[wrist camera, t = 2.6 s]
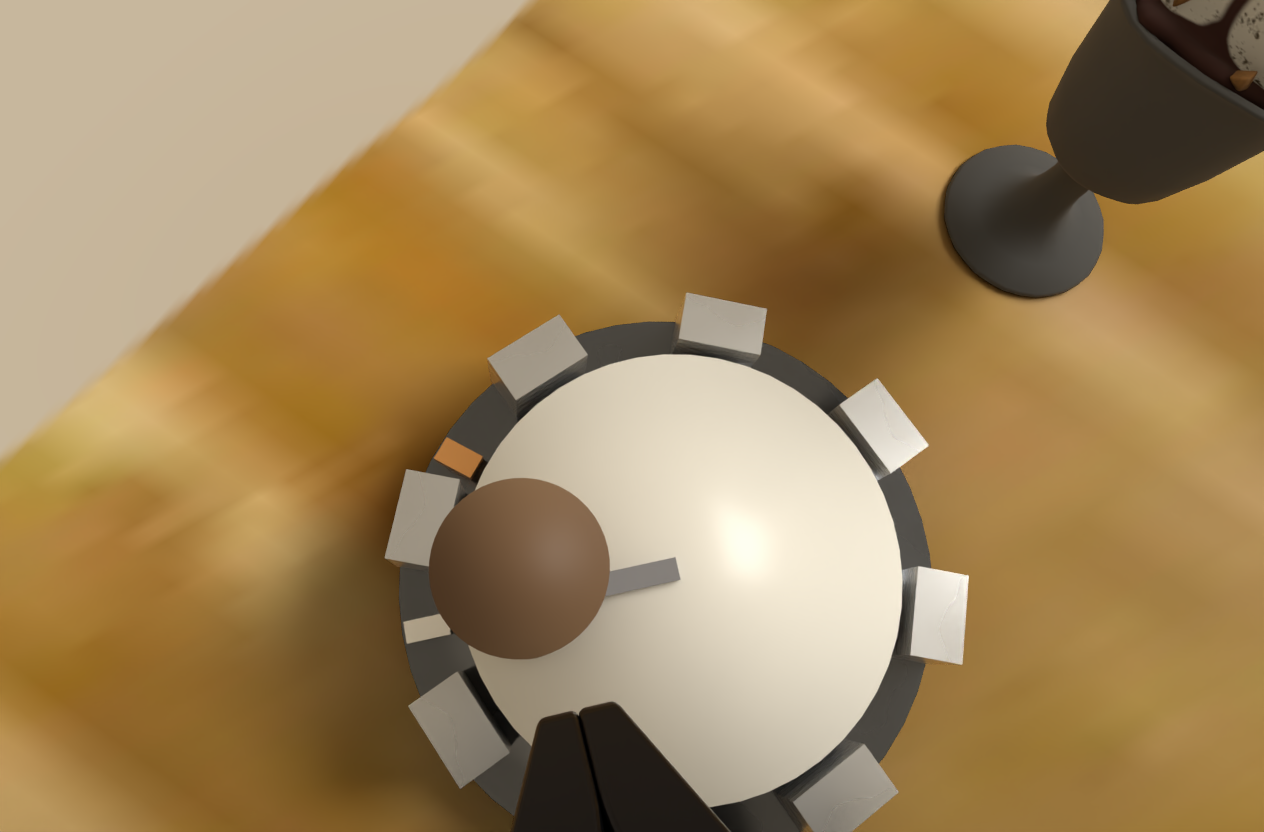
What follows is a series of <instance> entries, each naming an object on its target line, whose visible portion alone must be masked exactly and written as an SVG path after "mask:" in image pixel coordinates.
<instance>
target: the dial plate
mask: <svg viewBox="0 0 1264 832" xmlns="http://www.w3.org/2000/svg"><path fill="white" fill-rule="evenodd" d="M766 313H767V309H765V308H760V307H756V306H751V305H746V304H741V303H736V302H731V301H726V300H721V299H716V298H711V297H706V296H701V295H696V294H692V293H686V295H685V297H684V300H683V302H682V305H681V307H680V309H679V312H678V314H677V317H676V319H675V322H641V323H632V324H623V325H615V326H611V327H607V328H603V329H599V330H595V331H591V332H586V333H583V334H580V335H578V336H574V335H573V333H572V332H571V330H570V329H569V328H568V326H567V325H566V323H565V322H564V320H563V319H562V318H561V316H560V315H557V316H556V317H554V318H553V319H551V320H549V321H548V322H546V323H544V324H543V325H541V326H539V327H538V328H536V329H535V330H533V331H531V332H530V333H528V334H526V335H525V336H523V337H522V338H520V339H518V340H517V341H515V342H513V343H512V344H510V345H508V346H507V347H505V348H504V349H502V350H500V351H499V352H497V353H495V354H494V355H492V356H491V357H489V358H487V360H488V366H489V373H490V379H491V382H492V385H491V386H490V387H489V388H488V389H487V390H486V391H485V392H483V393H482V394H481V395H480V396H479V397H478V398H477V399H476V400H475V401H474V402H473V403H472V404H471V405H470V406H469V407H468V409H467V410H466V411H465V412H464V414H463V415H462V416H461V417H460V418H459V420H458V421H457V422H456V423H455V424H454V426H453V427H452V428H451V429H450V431H449V432H448V434H447V436H446V437H445V439H444V440H443V442H442V443H441V445H440V447H439V448H438V450H437V451H436V453H435V455H434V456H433V458H432V460H431V462H430V464H429V466H428V468H427V470H426V473H424V472H419V471H413V470H408V469H406V473H405V477H404V481H403V485H402V489H401V493H400V497H399V501H398V505H397V509H396V513H395V517H394V522H393V526H392V530H391V534H390V538H389V542H388V546H387V550H386V554H385V559H386V560H388V561H389V562H391V563H392V564H394V565H395V566H397V567H400V583H399V603H400V614H401V625H402V635H403V639H404V643H405V648H406V652H407V657H408V661H409V665H410V670H411V673H412V675H413V678H414V681H415V683H416V686H417V689H418V691H419V694H420V698H419V699H417V700H416V701H414V702H413V703H411V704H410V705H409V706H408V707H409V708H410V710H411V712H412V713H413V715H414V716H415V718H416V720H417V721H418V723H419V724H420V726H421V728H422V729H423V731H424V732H425V734H426V736H427V737H428V739H429V740H430V742H431V744H432V745H433V747H434V748H435V750H436V751H437V753H438V755H439V756H440V758H441V759H442V761H443V763H444V764H445V766H446V767H447V769H448V771H449V772H450V774H451V775H452V777H453V779H454V780H455V782H456V783H457V785H458V787H459V788H460V789H461V788H462V787H464V786H465V785H466V784H468V783H469V782H471V781H472V780H474V781H475V782H476V783H477V784H478V785H479V786H480V787H481V788H482V789H483V790H484V791H485V792H486V793H487V794H488V795H489V796H490V797H491V798H492V799H493V800H494V801H495V802H497V803H498V804H499V805H500V806H502V807H503V808H504V809H506V810H507V811H508V812H509V813H511V814H512V815H513V816H514V815H515V811H516V807H517V803H518V799H519V795H520V791H521V787H522V783H523V779H524V775H525V771H526V767H527V763H528V759H529V755H530V751H531V747H532V746H531V745H530V744H529V743H528V742H527V741H526V740H525V739H524V738H523V737H522V736H521V735H520V734H519V733H518V732H517V731H516V730H515V729H514V728H513V726H512V725H511V724H510V722H509V721H508V720H507V718H506V717H505V716H504V714H503V713H502V712H501V710H500V709H499V708H498V706H497V705H496V704H495V702H494V700H493V698H492V696H491V695H490V693H489V691H488V689H487V687H486V686H485V684H484V682H483V680H482V678H481V677H480V674H479V672H478V669H477V667H476V664H475V662H474V659H473V656H472V654H471V651H470V649H469V646H468V644H467V643H465V642H464V641H463V640H461V639H460V638H459V637H458V636H457V635H456V634H455V633H454V632H453V631H452V630H451V629H450V628H449V627H448V625H447V624H446V623H445V621H444V620H443V618H442V617H441V615H440V613H439V611H438V609H437V607H436V605H435V602H434V599H433V597H432V592H431V588H430V582H429V559H430V553H431V548H432V545H433V542H434V538H435V536H436V534H437V532H438V529H439V527H440V526H441V524H442V522H443V521H444V519H445V517H446V516H447V515H448V514H449V512H450V511H451V510H452V509H453V508H454V507H455V506H456V505H457V504H458V503H459V502H460V501H461V500H462V499H463V498H465V497H466V496H467V495H469V494H470V493H472V492H473V491H475V489H476V486H477V484H478V482H479V480H480V477H481V475H482V473H483V471H484V469H485V467H486V466H487V464H488V462H489V461H490V459H491V458H492V456H493V454H494V453H495V451H496V449H497V448H498V446H499V445H500V444H501V442H502V441H503V440H504V439H505V437H506V436H507V435H508V434H509V432H510V431H511V430H512V429H513V427H514V426H515V425H516V424H517V423H518V422H519V421H520V420H521V419H522V418H523V417H524V416H525V415H526V414H527V413H528V412H529V411H530V410H531V409H532V408H533V407H535V406H536V405H537V404H538V403H539V402H541V401H542V400H543V399H545V398H546V397H547V396H549V395H550V394H552V393H553V392H554V391H556V390H557V389H558V388H560V387H562V386H563V385H565V384H567V383H569V382H571V381H573V380H574V379H576V378H578V377H580V376H582V375H584V374H586V373H589V372H591V371H594V370H596V369H599V368H601V367H604V366H607V365H609V364H613V363H617V362H621V361H625V360H629V359H633V358H638V357H646V356H655V355H663V354H666V355H696V356H704V357H711V358H718V359H722V360H726V361H730V362H733V363H737V364H741V365H745V366H747V367H750V368H752V369H755V370H757V371H760V372H762V373H764V374H767V375H769V376H771V377H773V378H775V379H777V380H779V381H780V382H782V383H784V384H786V385H788V386H790V387H791V388H793V389H795V390H796V391H798V392H799V393H800V394H802V395H803V396H804V397H806V398H807V399H809V400H810V401H811V402H813V403H814V404H816V405H817V406H818V407H819V408H820V409H821V410H822V411H823V412H824V413H826V414H827V415H828V416H829V417H830V418H831V419H832V420H833V421H834V422H835V423H836V424H837V425H838V426H839V427H840V428H841V429H842V430H843V432H844V433H845V434H846V435H847V436H848V438H849V439H850V440H851V441H852V442H853V443H854V445H855V446H856V447H857V449H858V450H859V452H860V453H861V455H862V456H863V458H864V459H865V461H866V462H867V464H868V465H869V467H870V468H871V470H872V472H873V474H874V476H875V478H876V480H877V482H878V484H879V486H880V488H881V490H882V492H883V494H884V497H885V500H886V502H887V505H888V508H889V511H890V514H891V516H892V519H893V522H894V527H895V531H896V536H897V540H898V545H899V549H900V559H901V569H902V609H901V615H900V621H899V628H898V634H897V639H896V642H895V646H894V649H893V652H892V656H891V659H890V663H889V666H888V668H887V670H886V673H885V675H884V677H883V679H882V682H881V684H880V686H879V688H878V691H877V693H876V694H875V696H874V698H873V699H872V701H871V702H870V704H869V706H868V707H867V709H866V711H865V712H864V714H863V716H862V717H861V718H860V720H859V721H858V722H857V723H856V725H855V726H854V727H853V728H852V730H851V731H850V732H849V733H848V734H847V736H846V737H845V738H844V739H843V740H842V741H841V742H840V743H839V744H838V745H837V746H836V747H835V748H834V749H833V750H832V751H831V752H830V753H829V754H827V755H826V756H825V757H824V758H823V759H822V760H821V761H820V762H818V763H817V764H815V765H814V766H813V767H811V768H810V769H808V770H807V771H805V772H804V773H803V774H801V775H800V776H798V777H797V778H795V779H793V780H791V781H789V782H787V783H785V784H783V785H781V786H779V787H777V788H775V789H773V790H771V791H769V792H767V793H764V794H761V795H758V796H755V797H752V798H749V799H746V800H743V801H740V802H735V803H730V804H724V805H719V806H714V807H709V808H710V809H711V810H712V811H713V812H714V813H715V814H716V816H717V817H718V818H719V819H720V820H721V821H722V822H723V824H724V825H725V826H726V827H727V828H728V829H729V830H730V832H852V831H853V830H854V829H855V828H857V827H858V826H859V825H860V824H861V823H863V822H864V821H865V820H866V819H867V818H869V817H870V816H871V815H872V814H873V813H874V812H876V811H877V810H878V809H879V808H880V807H882V806H883V805H884V804H885V803H886V802H888V801H889V800H890V799H891V798H892V797H893V796H895V795H896V794H897V793H898V790H897V789H896V788H895V786H894V785H893V783H892V782H891V781H890V779H889V778H888V776H887V775H886V774H885V772H884V771H883V769H882V768H881V767H880V765H879V763H880V761H881V760H882V759H883V758H884V756H885V755H886V753H887V752H888V750H889V748H890V747H891V745H892V743H893V742H894V740H895V738H896V737H897V735H898V733H899V732H900V730H901V728H902V726H903V725H904V723H905V720H906V718H907V716H908V713H909V711H910V709H911V706H912V704H913V702H914V699H915V697H916V695H917V692H918V689H919V685H920V682H921V678H922V675H923V671H924V668H925V664H953V665H962V660H963V647H964V633H965V619H966V605H967V591H968V578H969V576H968V575H962V574H957V573H952V572H946V571H941V570H936V569H931V563H930V554H929V549H928V545H927V541H926V536H925V532H924V528H923V523H922V519H921V517H920V514H919V511H918V508H917V506H916V503H915V500H914V497H913V495H912V492H911V489H910V487H909V485H908V483H907V481H906V479H905V477H904V475H903V473H902V471H901V469H900V466H902V465H903V464H904V463H906V462H907V461H908V460H910V459H911V458H913V457H914V456H915V455H917V454H918V453H919V452H921V451H922V450H923V449H925V448H926V447H928V446H929V445H928V444H927V442H926V441H925V440H924V438H923V437H922V436H921V434H920V433H919V432H918V431H917V429H916V428H915V427H914V425H913V424H912V423H911V421H910V420H909V419H908V418H907V416H906V415H905V414H904V412H903V411H902V410H901V408H900V407H899V406H898V404H897V403H896V402H895V401H894V399H893V398H892V397H891V395H890V394H889V393H888V391H887V390H886V389H885V388H884V386H883V385H882V384H881V382H880V381H879V380H878V378H877V379H875V380H874V381H872V382H871V383H870V384H868V385H867V386H865V387H864V388H862V389H861V390H860V391H858V392H857V393H855V394H854V395H852V396H851V397H850V398H847V397H846V396H845V395H844V394H843V393H841V392H840V391H839V390H838V389H837V388H836V387H835V386H834V385H833V384H832V383H831V382H829V381H828V380H827V379H825V378H824V377H822V376H821V375H820V374H818V373H817V372H815V371H814V370H813V369H811V368H810V367H808V366H807V365H806V364H804V363H803V362H801V361H799V360H797V359H795V358H794V357H792V356H790V355H788V354H786V353H785V352H783V351H781V350H779V349H777V348H775V347H773V346H771V345H768V344H766V343H763V342H762V341H763V334H764V327H765V320H766Z"/></svg>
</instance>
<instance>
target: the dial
mask: <svg viewBox="0 0 1264 832" xmlns="http://www.w3.org/2000/svg"><path fill="white" fill-rule="evenodd" d="M429 582H430V588H431V592H432V597H433V599H434V602H435V605H436V607H437V609H438V611H439V613H440V615H441V617H442V618H443V620H444V621H445V623H446V624H447V625H448V627H449V628H450V629H451V630H452V631H453V632H454V633H455V634H456V635H457V636H458V637H459V638H460V639H461V640H463V641H464V642H465V643H467V644H468V646H469V649H470V651H471V654H472V656H473V659H474V662H475V664H476V667H477V669H478V672H479V674H480V677H481V678H482V680H483V682H484V684H485V686H486V687H487V689H488V691H489V693H490V695H491V696H492V698H493V700H494V702H495V704H496V705H497V706H498V708H499V709H500V710H501V712H502V713H503V714H504V716H505V717H506V718H507V720H508V721H509V722H510V724H511V725H512V726H513V728H514V729H515V730H516V731H517V732H518V733H519V734H520V735H521V736H522V737H523V738H524V739H525V740H526V741H527V742H528V743H529V744H530V745H531V746H532V742H533V738H534V734H535V730H536V727H537V724H538V722H539V721H540V720H541V719H542V718H544V717H547V716H551V715H556V714H560V713H564V712H568V711H574V712H576V713H577V714H578V716H579V712H580V711H581V709H583V708H585V707H589V706H593V705H597V704H601V703H606V702H611V701H613V702H616V703H617V704H619V705H620V706H621V707H622V708H623V709H624V710H625V711H626V713H627V714H628V715H629V716H630V717H631V718H632V719H633V721H634V722H635V723H636V724H637V725H638V726H639V727H640V729H641V730H642V731H643V732H644V733H645V734H646V735H647V737H648V738H649V739H650V740H651V741H652V742H653V743H654V745H655V746H656V747H657V748H658V749H659V750H660V752H661V753H662V754H663V755H664V756H665V757H666V758H667V760H668V761H669V762H670V763H671V764H672V765H673V766H674V768H675V769H676V770H677V771H678V772H679V773H680V774H681V776H682V777H683V778H684V779H685V780H686V781H687V782H688V784H689V785H690V786H691V787H692V788H693V789H694V790H695V792H696V793H697V794H698V795H699V796H700V797H701V798H702V800H703V801H704V802H705V803H706V804H707V805H708V806H709V807H714V806H719V805H724V804H730V803H735V802H740V801H743V800H746V799H749V798H752V797H755V796H758V795H761V794H764V793H767V792H769V791H771V790H773V789H775V788H777V787H779V786H781V785H783V784H785V783H787V782H789V781H791V780H793V779H795V778H797V777H798V776H800V775H801V774H803V773H804V772H805V771H807V770H808V769H810V768H811V767H813V766H814V765H815V764H817V763H818V762H820V761H821V760H822V759H823V758H824V757H825V756H826V755H827V754H829V753H830V752H831V751H832V750H833V749H834V748H835V747H836V746H837V745H838V744H839V743H840V742H841V741H842V740H843V739H844V738H845V737H846V736H847V734H848V733H849V732H850V731H851V730H852V728H853V727H854V726H855V725H856V723H857V722H858V721H859V720H860V718H861V717H862V716H863V714H864V712H865V711H866V709H867V707H868V706H869V704H870V702H871V701H872V699H873V698H874V696H875V694H876V693H877V691H878V688H879V686H880V684H881V682H882V679H883V677H884V675H885V673H886V670H887V668H888V666H889V663H890V659H891V656H892V652H893V649H894V646H895V642H896V639H897V634H898V628H899V621H900V615H901V609H902V569H901V559H900V549H899V545H898V540H897V536H896V531H895V527H894V522H893V519H892V516H891V514H890V511H889V508H888V505H887V502H886V500H885V497H884V494H883V492H882V490H881V488H880V486H879V484H878V482H877V480H876V478H875V476H874V474H873V472H872V470H871V468H870V467H869V465H868V464H867V462H866V461H865V459H864V458H863V456H862V455H861V453H860V452H859V450H858V449H857V447H856V446H855V445H854V443H853V442H852V441H851V440H850V439H849V438H848V436H847V435H846V434H845V433H844V432H843V430H842V429H841V428H840V427H839V426H838V425H837V424H836V423H835V422H834V421H833V420H832V419H831V418H830V417H829V416H828V415H827V414H826V413H824V412H823V411H822V410H821V409H820V408H819V407H818V406H817V405H816V404H814V403H813V402H811V401H810V400H809V399H807V398H806V397H804V396H803V395H802V394H800V393H799V392H798V391H796V390H795V389H793V388H791V387H790V386H788V385H786V384H784V383H782V382H780V381H779V380H777V379H775V378H773V377H771V376H769V375H767V374H764V373H762V372H760V371H757V370H755V369H752V368H750V367H747V366H745V365H741V364H737V363H733V362H730V361H726V360H722V359H718V358H711V357H704V356H696V355H666V354H663V355H655V356H646V357H638V358H633V359H629V360H625V361H621V362H617V363H613V364H609V365H607V366H604V367H601V368H599V369H596V370H594V371H591V372H589V373H586V374H584V375H582V376H580V377H578V378H576V379H574V380H573V381H571V382H569V383H567V384H565V385H563V386H562V387H560V388H558V389H557V390H556V391H554V392H553V393H552V394H550V395H549V396H547V397H546V398H545V399H543V400H542V401H541V402H539V403H538V404H537V405H536V406H535V407H533V408H532V409H531V410H530V411H529V412H528V413H527V414H526V415H525V416H524V417H523V418H522V419H521V420H520V421H519V422H518V423H517V424H516V425H515V426H514V427H513V429H512V430H511V431H510V432H509V434H508V435H507V436H506V437H505V439H504V440H503V441H502V442H501V444H500V445H499V446H498V448H497V449H496V451H495V453H494V454H493V456H492V458H491V459H490V461H489V462H488V464H487V466H486V467H485V469H484V471H483V473H482V475H481V477H480V480H479V482H478V484H477V486H476V489H475V491H473V492H472V493H470V494H469V495H467V496H466V497H465V498H463V499H462V500H461V501H460V502H459V503H458V504H457V505H456V506H455V507H454V508H453V509H452V510H451V511H450V512H449V514H448V515H447V516H446V517H445V519H444V521H443V522H442V524H441V526H440V527H439V529H438V532H437V534H436V536H435V538H434V542H433V545H432V548H431V553H430V559H429Z"/></svg>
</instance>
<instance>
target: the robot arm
mask: <svg viewBox="0 0 1264 832" xmlns="http://www.w3.org/2000/svg"><path fill="white" fill-rule="evenodd" d="M510 832H730V830H729V829H728V828H727V827H726V826H725V825H724V824H723V822H722V821H721V820H720V819H719V818H718V817H717V816H716V814H715V813H714V812H713V811H712V810H711V809H710V808H709V806H708V805H707V804H706V803H705V802H704V801H703V800H702V798H701V797H700V796H699V795H698V794H697V793H696V792H695V790H694V789H693V788H692V787H691V786H690V785H689V784H688V782H687V781H686V780H685V779H684V778H683V777H682V776H681V774H680V773H679V772H678V771H677V770H676V769H675V768H674V766H673V765H672V764H671V763H670V762H669V761H668V760H667V758H666V757H665V756H664V755H663V754H662V753H661V752H660V750H659V749H658V748H657V747H656V746H655V745H654V743H653V742H652V741H651V740H650V739H649V738H648V737H647V735H646V734H645V733H644V732H643V731H642V730H641V729H640V727H639V726H638V725H637V724H636V723H635V722H634V721H633V719H632V718H631V717H630V716H629V715H628V714H627V713H626V711H625V710H624V709H623V708H622V707H621V706H620V705H619V704H617V703H616V702H613V701H611V702H606V703H601V704H597V705H593V706H589V707H585V708H583V709H581V711H580V712H579V716H578V714H577V713H576V712H574V711H568V712H564V713H560V714H556V715H551V716H547V717H544V718H542V719H541V720H540V721H539V722H538V724H537V727H536V730H535V734H534V738H533V742H532V747H531V751H530V755H529V759H528V763H527V767H526V771H525V775H524V779H523V783H522V787H521V791H520V795H519V799H518V803H517V807H516V811H515V815H514V819H513V823H512V827H511V831H510Z"/></svg>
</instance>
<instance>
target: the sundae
mask: <svg viewBox="0 0 1264 832" xmlns="http://www.w3.org/2000/svg"><path fill="white" fill-rule="evenodd" d="M1046 126H1047V134H1048V137H1049V140H1050V142H1051V145H1052V148H1053V151H1054V153H1055V156H1056V158H1055V157H1053V156H1051V155H1050V154H1048V153H1046V152H1043V151H1040V150H1037V149H1034V148H1031V147H1025V146H1020V145H1007V146H999V147H995V148H990V149H986V150H983V151H982V152H980V153H978V154H976V155H974V156H972V157H971V158H970V159H968V160H967V161H966V162H964V163H963V164H962V165H961V166H960V167H959V169H958V170H957V172H956V173H955V174H954V176H953V178H952V180H951V182H950V184H949V186H948V188H947V192H946V198H945V216H944V217H945V221H946V225H947V229H948V233H949V235H950V238H951V240H952V243H953V245H954V248H955V249H956V250H957V252H958V253H959V255H960V256H961V257H962V259H963V260H964V261H965V262H966V264H967V265H968V266H969V267H970V268H971V269H972V270H973V271H974V273H976V274H977V275H979V276H980V277H981V278H983V279H984V280H986V281H987V282H989V283H990V284H992V285H994V286H996V287H998V288H999V289H1001V290H1003V291H1006V292H1010V293H1014V294H1017V295H1022V296H1029V297H1044V296H1052V295H1056V294H1060V293H1064V292H1066V291H1068V290H1070V289H1071V288H1073V287H1075V286H1076V285H1078V284H1079V283H1080V282H1081V281H1083V280H1084V279H1085V278H1086V277H1088V276H1089V274H1090V273H1091V271H1092V269H1093V268H1094V266H1095V265H1096V263H1097V260H1098V258H1099V256H1100V254H1101V251H1102V243H1103V217H1102V214H1101V210H1100V207H1099V204H1098V202H1097V200H1096V198H1095V195H1094V193H1096V194H1099V195H1101V196H1104V197H1107V198H1110V199H1113V200H1116V201H1120V202H1123V203H1127V204H1141V203H1147V202H1153V201H1158V200H1160V199H1163V198H1165V197H1168V196H1170V195H1173V194H1175V193H1178V192H1180V191H1182V190H1185V189H1187V188H1190V187H1192V186H1195V185H1197V184H1200V183H1202V182H1205V181H1207V180H1209V179H1211V178H1213V177H1215V176H1217V175H1219V174H1221V173H1223V172H1224V171H1226V170H1228V169H1230V168H1232V167H1234V166H1236V165H1238V164H1240V163H1242V162H1244V161H1245V160H1247V159H1249V158H1251V157H1253V156H1255V155H1257V154H1259V153H1261V152H1263V151H1264V0H1110V1H1109V2H1108V4H1107V5H1106V7H1105V8H1104V10H1103V11H1102V13H1101V14H1100V16H1099V17H1098V19H1097V20H1096V22H1095V23H1094V25H1093V26H1092V28H1091V29H1090V31H1089V32H1088V34H1087V35H1086V37H1085V39H1084V40H1083V42H1082V43H1081V45H1080V46H1079V48H1078V49H1077V51H1076V52H1075V54H1074V55H1073V57H1072V59H1071V61H1070V63H1069V65H1068V67H1067V69H1066V71H1065V73H1064V75H1063V77H1062V79H1061V81H1060V83H1059V85H1058V87H1057V89H1056V91H1055V93H1054V95H1053V97H1052V99H1051V101H1050V103H1049V109H1048V114H1047V122H1046ZM1093 192H1094V193H1093Z"/></svg>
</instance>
